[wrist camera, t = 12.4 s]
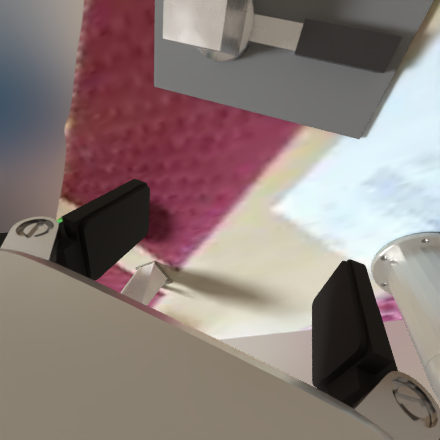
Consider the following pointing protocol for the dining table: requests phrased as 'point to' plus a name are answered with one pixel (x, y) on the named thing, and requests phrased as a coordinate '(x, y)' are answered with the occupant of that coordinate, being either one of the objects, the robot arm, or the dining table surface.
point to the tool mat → (294, 66)
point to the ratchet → (316, 41)
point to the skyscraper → (146, 283)
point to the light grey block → (206, 24)
